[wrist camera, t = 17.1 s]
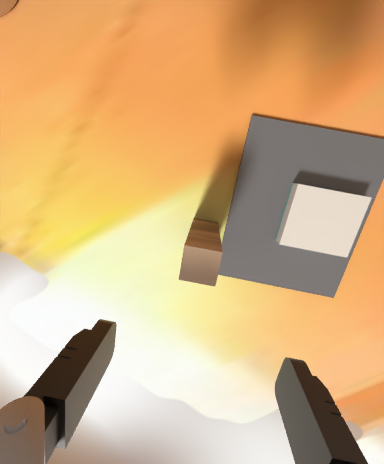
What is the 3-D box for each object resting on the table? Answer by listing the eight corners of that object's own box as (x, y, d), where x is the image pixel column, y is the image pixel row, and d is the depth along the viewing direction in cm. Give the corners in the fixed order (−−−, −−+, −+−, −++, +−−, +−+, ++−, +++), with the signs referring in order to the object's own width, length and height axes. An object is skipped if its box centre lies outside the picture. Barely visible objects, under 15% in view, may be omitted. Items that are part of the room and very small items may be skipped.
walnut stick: (193, 218, 31) (184, 245, 19) (217, 222, 31) (222, 252, 19) (189, 241, 32) (178, 279, 20) (213, 245, 32) (215, 286, 20)
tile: (298, 183, 26) (371, 197, 26) (292, 183, 28) (360, 195, 28) (279, 244, 29) (347, 257, 28) (274, 239, 30) (338, 252, 30)
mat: (251, 116, 27) (252, 115, 27) (395, 142, 26) (398, 141, 26) (215, 272, 33) (215, 273, 33) (332, 296, 32) (333, 297, 32)
